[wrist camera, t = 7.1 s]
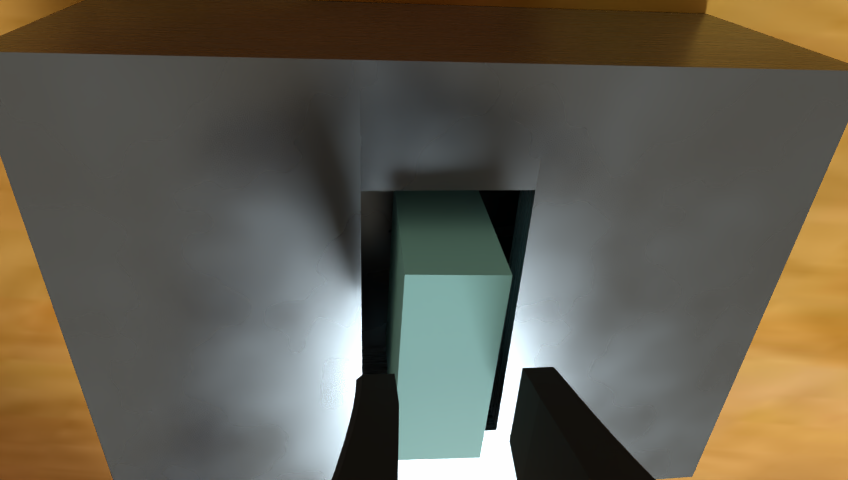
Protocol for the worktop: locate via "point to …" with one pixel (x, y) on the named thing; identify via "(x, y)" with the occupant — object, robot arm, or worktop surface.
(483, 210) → the teal rectangular brick
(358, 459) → the robot arm
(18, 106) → the coin box
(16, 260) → the worktop surface
